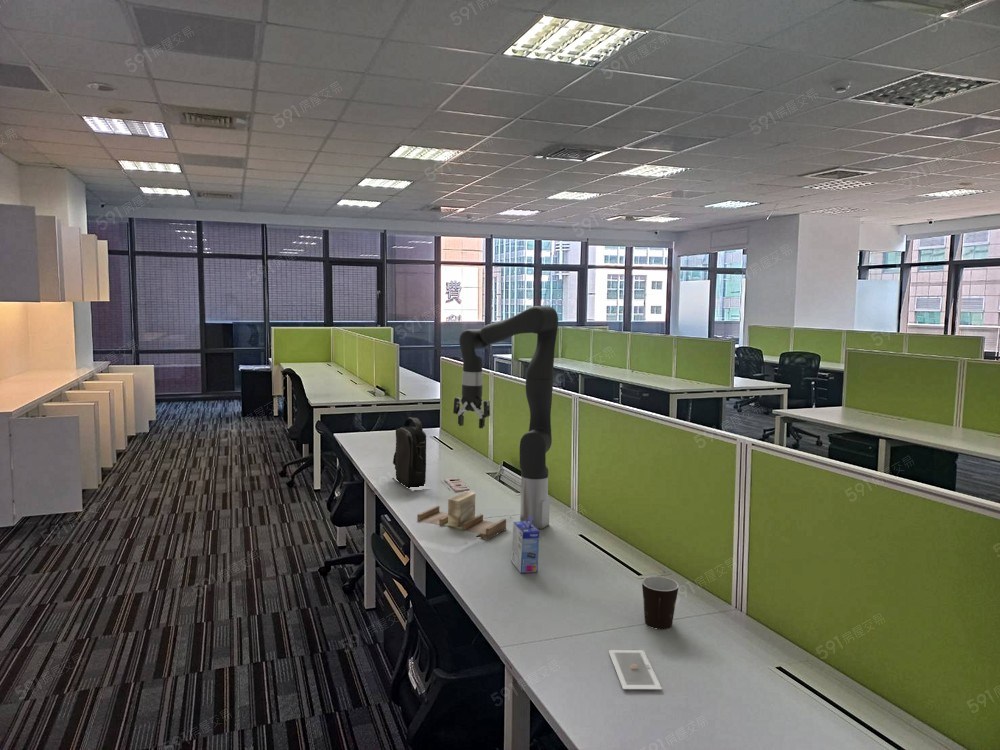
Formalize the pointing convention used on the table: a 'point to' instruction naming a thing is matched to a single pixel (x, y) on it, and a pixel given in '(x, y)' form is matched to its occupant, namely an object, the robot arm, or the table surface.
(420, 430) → the shoulder bag
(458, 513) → the tall beige wooden block
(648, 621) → the coffee mug
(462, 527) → the notched rack
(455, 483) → the plaque
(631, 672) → the touchpad
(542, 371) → the robot arm
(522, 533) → the ink cartridge box
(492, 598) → the table surface
